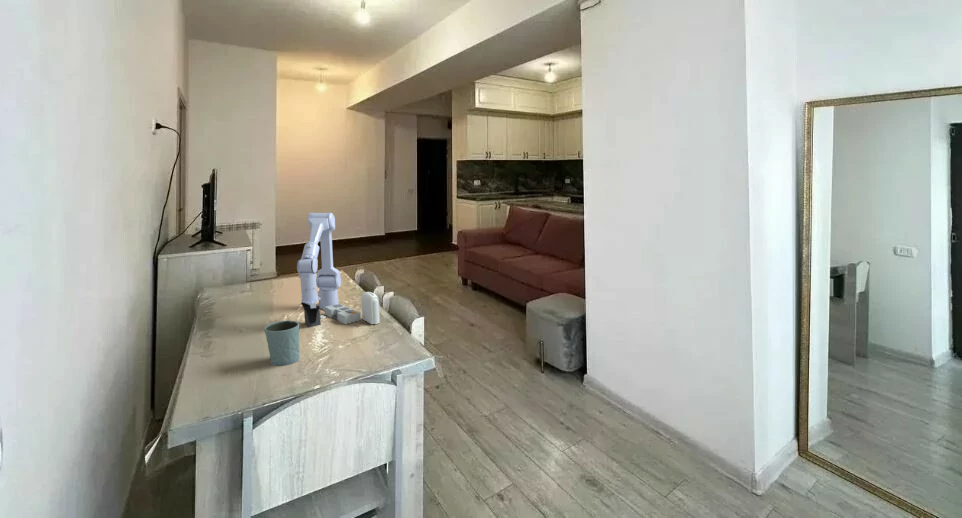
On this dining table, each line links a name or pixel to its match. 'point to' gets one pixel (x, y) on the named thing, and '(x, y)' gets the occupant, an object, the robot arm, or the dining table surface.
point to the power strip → (342, 313)
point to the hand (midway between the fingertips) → (311, 320)
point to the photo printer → (370, 308)
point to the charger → (316, 319)
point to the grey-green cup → (283, 342)
